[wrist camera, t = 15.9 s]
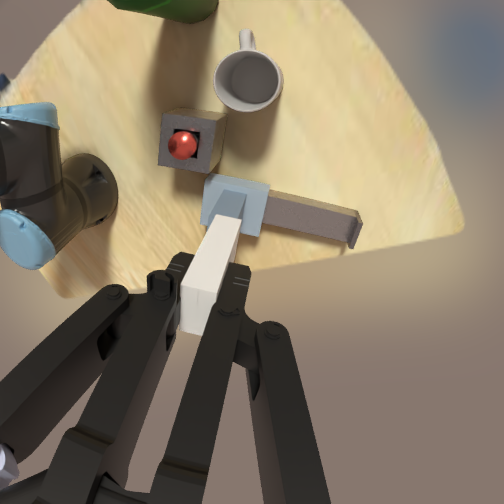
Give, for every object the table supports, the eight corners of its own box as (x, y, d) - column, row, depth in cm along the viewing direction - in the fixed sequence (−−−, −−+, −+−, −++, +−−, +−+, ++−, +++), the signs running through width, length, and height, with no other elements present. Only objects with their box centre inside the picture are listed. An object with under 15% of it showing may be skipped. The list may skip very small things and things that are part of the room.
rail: (208, 203, 55) (201, 215, 51) (212, 177, 52) (204, 187, 48) (348, 235, 55) (353, 249, 51) (357, 210, 52) (363, 223, 48)
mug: (285, 104, 44) (283, 111, 35) (231, 108, 46) (216, 116, 36) (279, 33, 38) (276, 20, 29) (224, 38, 39) (206, 28, 30)
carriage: (205, 214, 55) (181, 256, 43) (211, 172, 50) (185, 204, 39) (260, 226, 55) (251, 272, 43) (270, 184, 50) (262, 220, 39)
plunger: (186, 143, 49) (166, 157, 41) (189, 120, 47) (169, 130, 39) (209, 147, 49) (193, 161, 41) (212, 124, 47) (196, 134, 39)
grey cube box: (175, 152, 51) (157, 165, 44) (180, 107, 46) (162, 113, 39) (220, 159, 50) (208, 173, 44) (227, 114, 46) (216, 120, 39)
